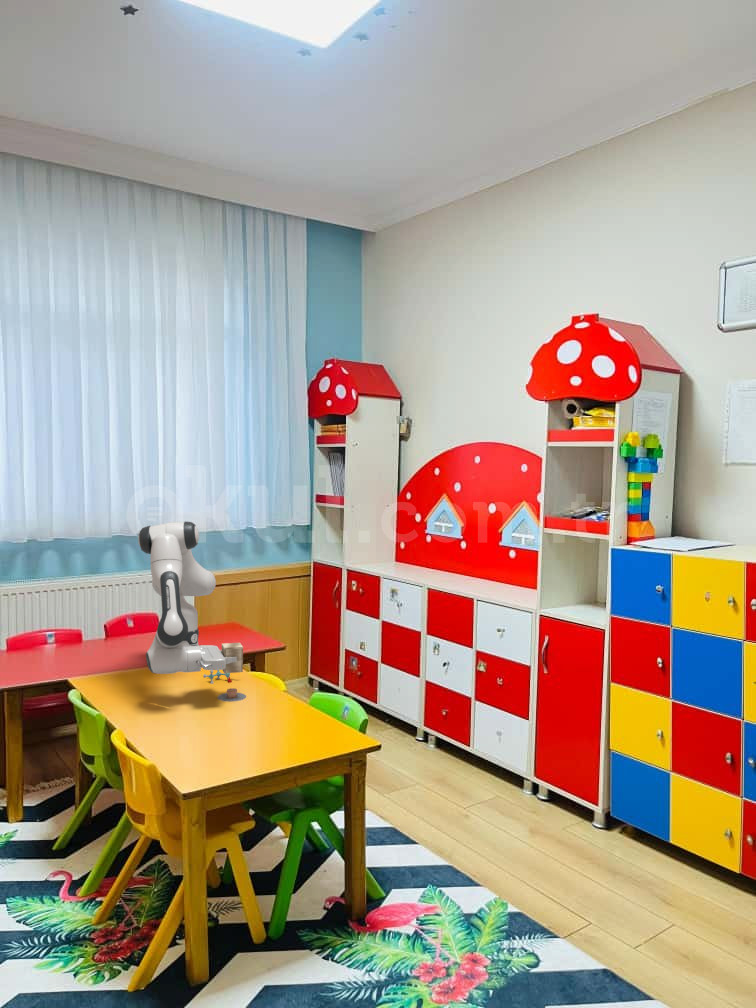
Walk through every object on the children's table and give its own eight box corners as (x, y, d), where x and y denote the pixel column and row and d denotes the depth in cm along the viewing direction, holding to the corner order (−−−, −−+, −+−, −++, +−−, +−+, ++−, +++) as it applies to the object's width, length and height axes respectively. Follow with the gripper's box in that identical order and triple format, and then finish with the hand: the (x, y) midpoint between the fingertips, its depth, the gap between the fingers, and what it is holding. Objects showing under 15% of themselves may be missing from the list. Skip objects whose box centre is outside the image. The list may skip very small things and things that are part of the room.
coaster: (211, 699, 277) (211, 698, 277) (230, 692, 285) (230, 690, 285) (233, 704, 272) (233, 703, 272) (251, 697, 280) (251, 695, 280)
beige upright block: (224, 673, 274) (224, 647, 273) (221, 668, 280) (221, 643, 279) (242, 672, 276) (242, 646, 275) (239, 667, 282) (239, 642, 281)
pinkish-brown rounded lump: (224, 697, 278) (224, 690, 278) (231, 694, 281) (231, 687, 281) (232, 699, 276) (232, 692, 276) (239, 696, 279) (239, 689, 279)
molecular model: (211, 679, 289) (213, 653, 294) (200, 686, 295) (202, 660, 300) (239, 684, 294) (241, 658, 299) (228, 691, 301) (230, 666, 306)
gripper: (198, 657, 263) (240, 654, 268) (191, 643, 282) (230, 640, 287) (198, 676, 263) (239, 672, 268) (191, 660, 282) (229, 657, 287)
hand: (234, 656), depth 278 cm, fingers closed on beige upright block, 6 cm apart
